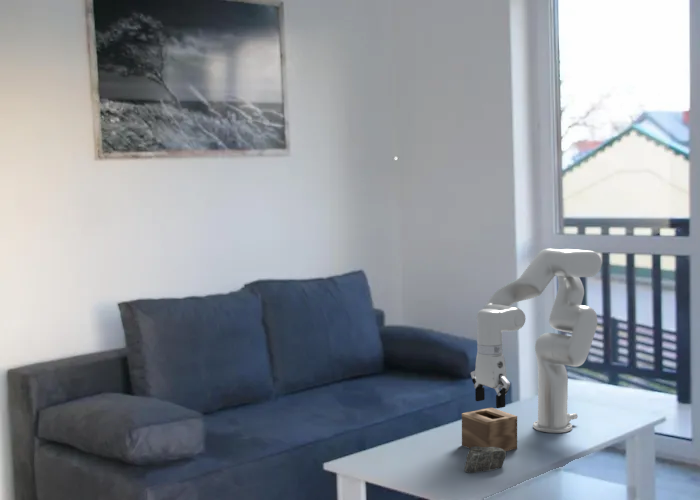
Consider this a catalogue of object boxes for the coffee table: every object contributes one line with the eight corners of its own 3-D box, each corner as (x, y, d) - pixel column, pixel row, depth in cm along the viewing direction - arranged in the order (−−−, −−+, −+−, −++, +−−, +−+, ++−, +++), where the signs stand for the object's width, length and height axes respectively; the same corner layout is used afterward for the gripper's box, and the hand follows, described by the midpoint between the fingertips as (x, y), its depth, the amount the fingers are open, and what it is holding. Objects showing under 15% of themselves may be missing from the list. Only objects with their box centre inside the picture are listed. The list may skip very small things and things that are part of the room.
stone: (483, 474, 269) (498, 444, 269) (498, 485, 263) (514, 454, 263) (451, 462, 262) (466, 431, 262) (465, 473, 256) (481, 441, 256)
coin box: (491, 438, 290) (491, 407, 289) (517, 448, 280) (517, 416, 279) (461, 445, 284) (461, 413, 283) (486, 455, 274) (487, 422, 273)
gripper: (518, 352, 274) (518, 408, 276) (481, 343, 288) (481, 396, 290) (499, 356, 270) (499, 412, 272) (462, 346, 285) (463, 399, 286)
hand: (490, 403), depth 281 cm, fingers open, 9 cm apart
